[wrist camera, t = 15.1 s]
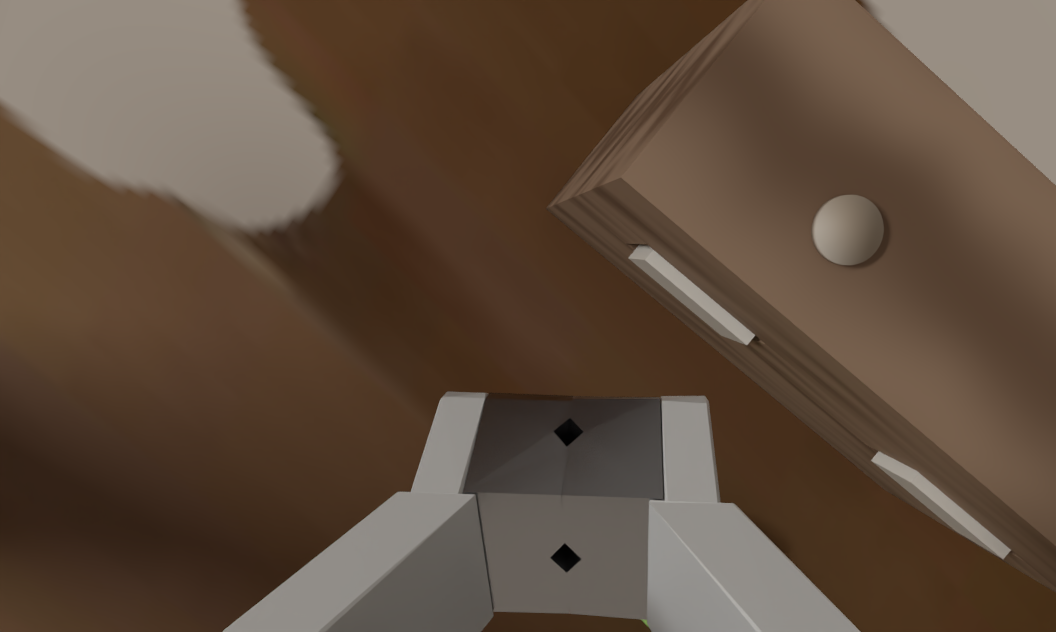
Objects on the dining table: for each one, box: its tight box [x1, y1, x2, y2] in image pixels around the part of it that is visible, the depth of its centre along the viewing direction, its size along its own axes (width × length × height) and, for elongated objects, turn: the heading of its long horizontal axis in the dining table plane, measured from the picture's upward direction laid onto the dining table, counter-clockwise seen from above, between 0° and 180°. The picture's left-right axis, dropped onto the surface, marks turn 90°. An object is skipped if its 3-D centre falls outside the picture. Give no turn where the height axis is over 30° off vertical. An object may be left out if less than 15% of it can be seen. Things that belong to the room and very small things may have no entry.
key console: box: [546, 0, 1056, 592], centre depth 35 cm, size 8×26×22 cm, turn 51°
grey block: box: [629, 244, 755, 345], centre depth 32 cm, size 6×5×3 cm
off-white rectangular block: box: [871, 451, 1011, 559], centre depth 34 cm, size 6×5×3 cm
